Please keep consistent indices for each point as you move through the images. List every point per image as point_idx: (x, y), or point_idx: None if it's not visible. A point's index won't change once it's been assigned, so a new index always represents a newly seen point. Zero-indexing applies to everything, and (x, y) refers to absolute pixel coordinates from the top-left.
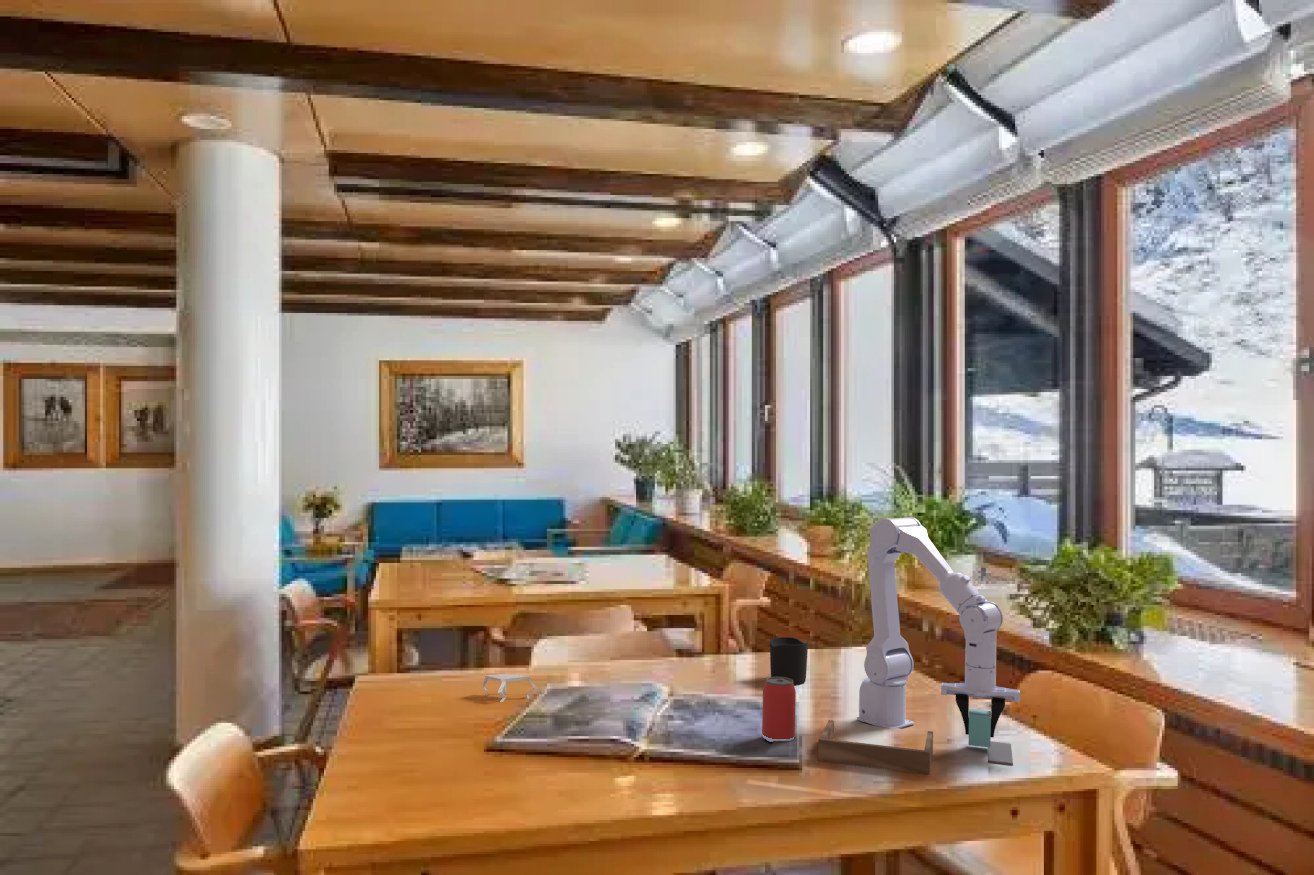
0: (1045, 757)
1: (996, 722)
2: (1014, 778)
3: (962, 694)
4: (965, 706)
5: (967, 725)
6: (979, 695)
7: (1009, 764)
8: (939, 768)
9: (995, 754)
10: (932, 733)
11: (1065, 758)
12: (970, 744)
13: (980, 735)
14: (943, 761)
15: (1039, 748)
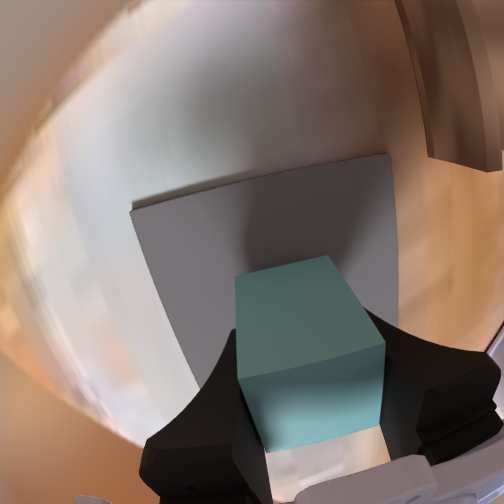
0: (87, 350)
1: (211, 375)
2: (94, 65)
3: (465, 448)
4: (429, 370)
5: None
6: (373, 472)
7: (143, 207)
8: (373, 18)
9: (216, 276)
10: (486, 140)
11: (52, 364)
12: (320, 257)
13: (285, 292)
14: (383, 101)
15: (134, 407)
